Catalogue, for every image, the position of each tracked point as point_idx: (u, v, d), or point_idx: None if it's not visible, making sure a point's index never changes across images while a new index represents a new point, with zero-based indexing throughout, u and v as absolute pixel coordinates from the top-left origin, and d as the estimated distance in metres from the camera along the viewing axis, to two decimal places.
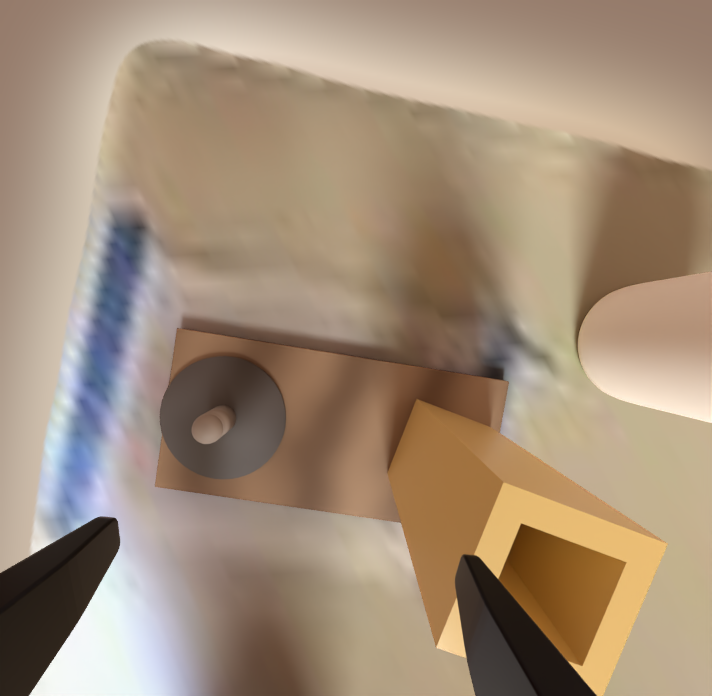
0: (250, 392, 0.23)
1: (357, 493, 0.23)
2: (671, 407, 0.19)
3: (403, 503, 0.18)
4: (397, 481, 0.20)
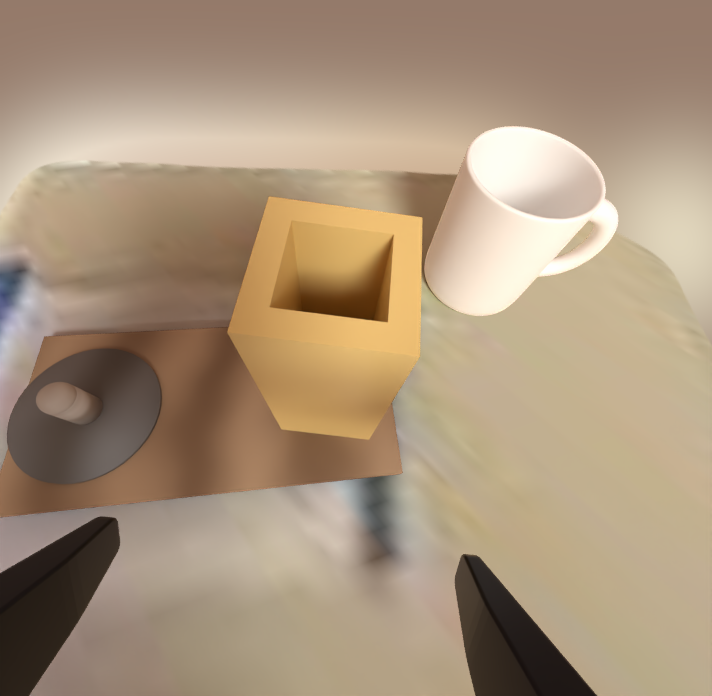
0: (120, 377, 0.22)
1: (251, 461, 0.20)
2: (490, 270, 0.22)
3: None
4: None
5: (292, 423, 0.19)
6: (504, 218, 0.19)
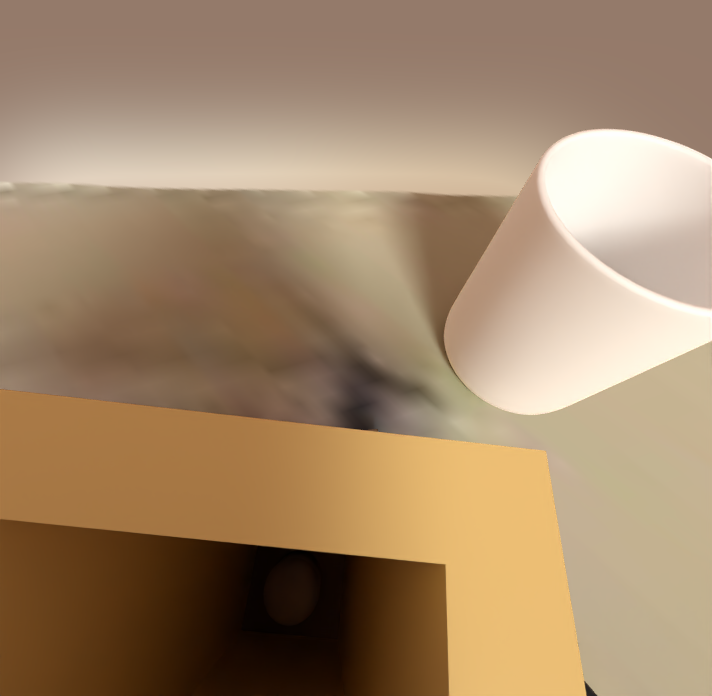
0: None
1: None
2: (568, 372, 0.13)
3: None
4: None
5: None
6: (623, 305, 0.10)
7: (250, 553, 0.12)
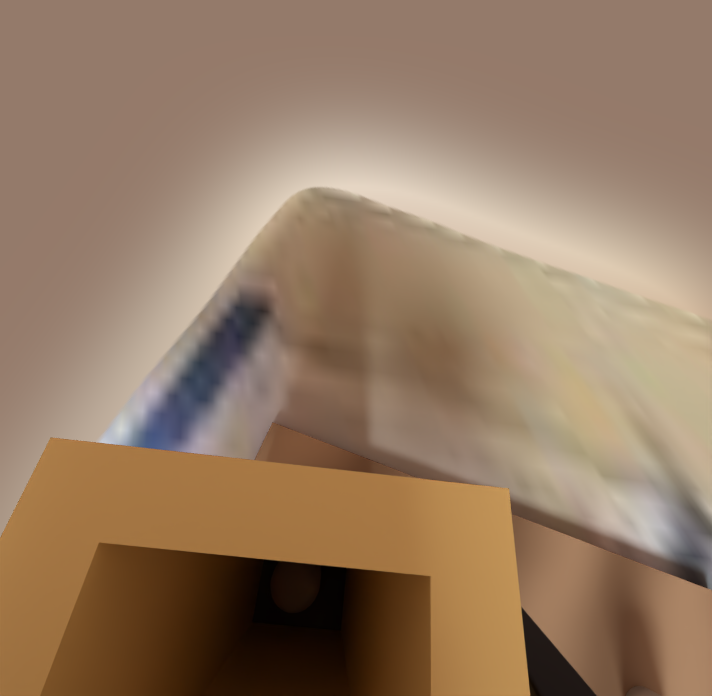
0: None
1: None
2: None
3: None
4: None
5: None
6: None
7: None
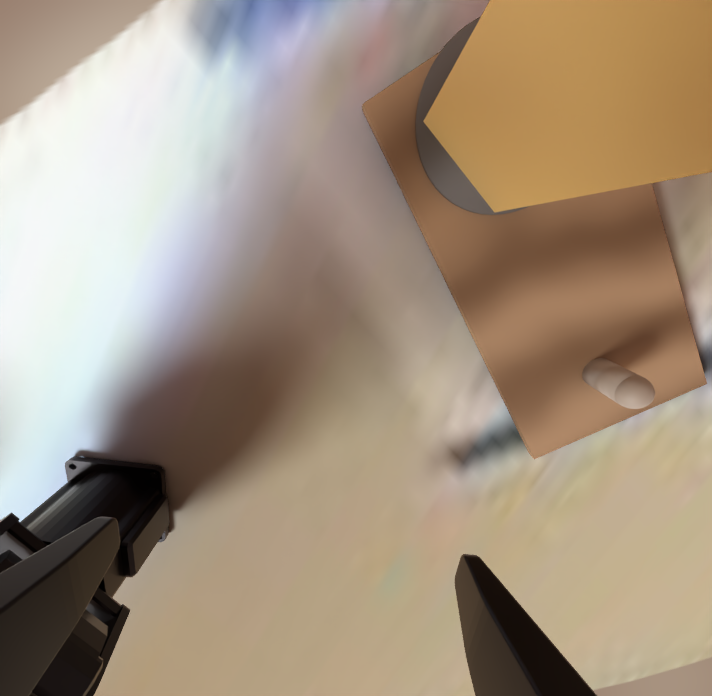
0: None
1: (503, 331, 0.19)
2: None
3: None
4: None
5: (446, 122, 0.14)
6: None
7: None
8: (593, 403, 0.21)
